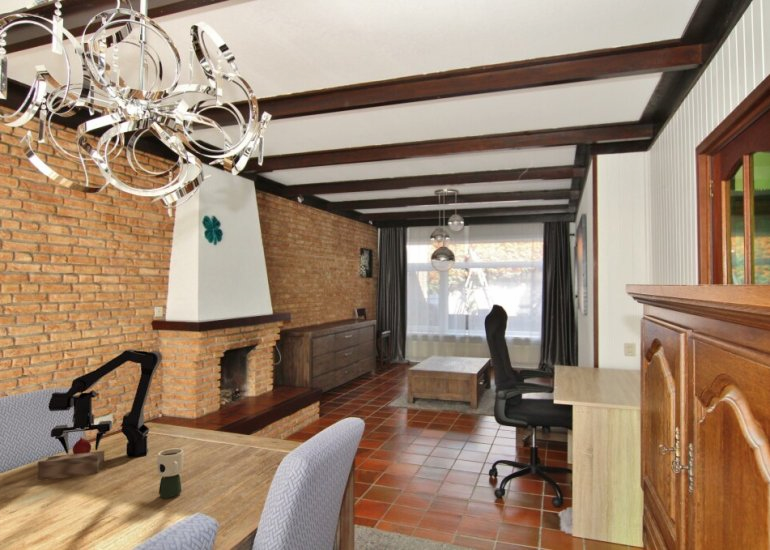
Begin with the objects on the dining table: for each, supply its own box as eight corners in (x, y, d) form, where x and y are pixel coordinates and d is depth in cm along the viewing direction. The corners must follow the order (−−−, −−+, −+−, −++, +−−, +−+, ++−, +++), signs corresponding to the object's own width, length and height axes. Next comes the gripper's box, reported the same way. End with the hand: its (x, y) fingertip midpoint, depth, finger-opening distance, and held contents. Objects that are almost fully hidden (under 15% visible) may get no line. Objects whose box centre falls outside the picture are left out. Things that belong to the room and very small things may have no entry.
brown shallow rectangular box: (104, 461, 171) (104, 444, 171) (97, 473, 160) (97, 455, 160) (48, 468, 165) (49, 451, 165) (37, 480, 154) (37, 462, 154)
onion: (94, 456, 177) (94, 434, 177) (83, 461, 171) (83, 439, 172) (80, 455, 178) (80, 434, 178) (68, 461, 172) (69, 439, 172)
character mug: (152, 493, 143) (152, 450, 144) (176, 486, 148) (177, 445, 149) (162, 505, 135) (163, 459, 136) (188, 497, 140) (188, 453, 140)
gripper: (114, 402, 186) (114, 442, 185) (59, 407, 179) (58, 448, 179) (109, 409, 176) (109, 451, 175) (50, 414, 169) (49, 457, 168)
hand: (82, 451), depth 175 cm, fingers open, 9 cm apart
